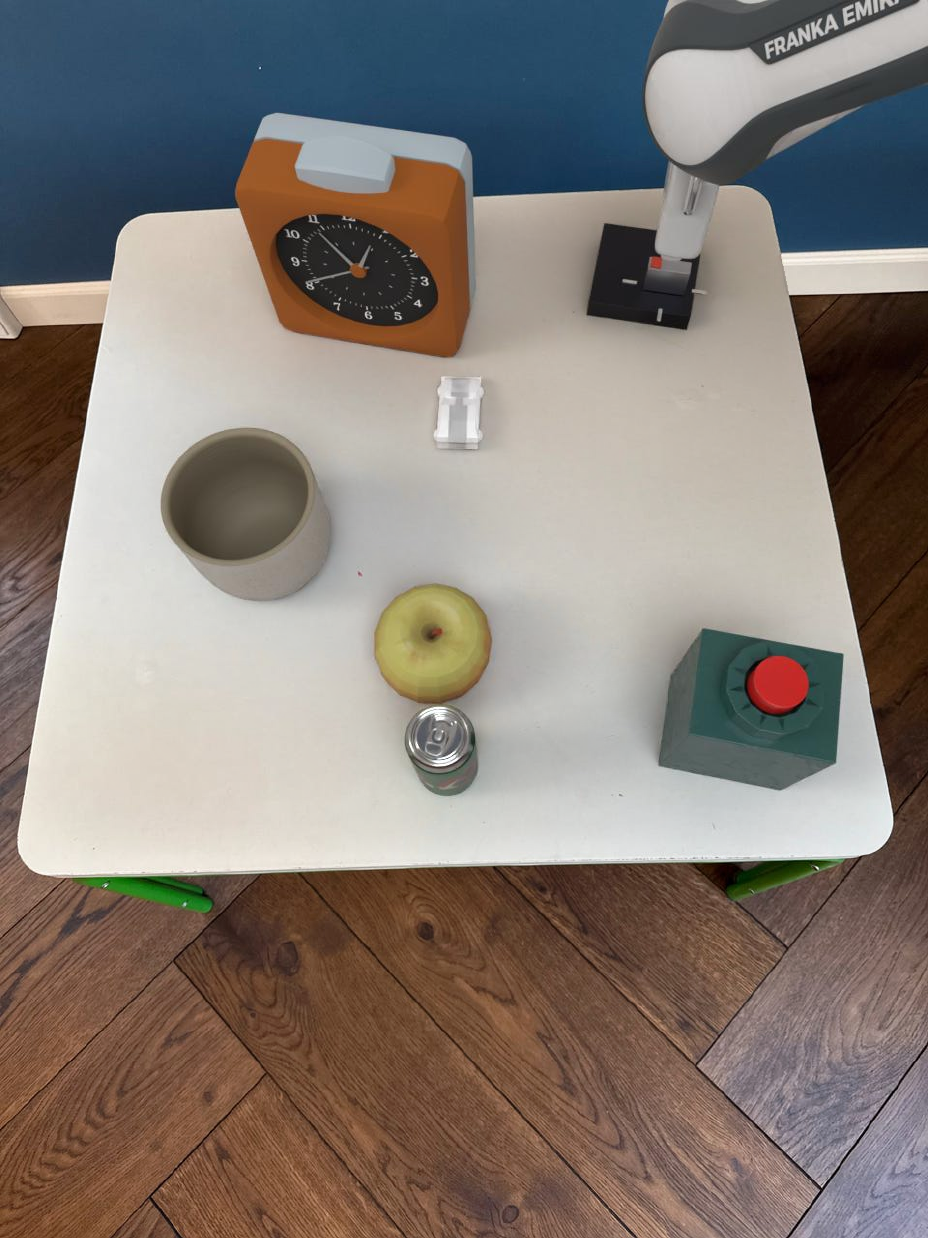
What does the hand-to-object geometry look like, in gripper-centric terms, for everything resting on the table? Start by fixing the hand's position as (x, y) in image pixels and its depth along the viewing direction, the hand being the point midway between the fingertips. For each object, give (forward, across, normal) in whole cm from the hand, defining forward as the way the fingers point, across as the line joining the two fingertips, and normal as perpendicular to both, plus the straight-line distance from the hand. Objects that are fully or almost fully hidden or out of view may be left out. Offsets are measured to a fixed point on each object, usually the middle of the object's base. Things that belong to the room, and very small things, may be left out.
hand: (678, 211), depth 76 cm
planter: (+12, -34, +31) cm, 47 cm away
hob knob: (+10, 0, 0) cm, 10 cm away
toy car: (+12, -17, +16) cm, 26 cm away
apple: (+12, -41, +14) cm, 45 cm away
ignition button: (-2, -42, -11) cm, 44 cm away
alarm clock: (+12, -6, +27) cm, 30 cm away
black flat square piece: (+12, +2, +2) cm, 12 cm away
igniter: (+12, -42, -11) cm, 45 cm away
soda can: (+12, -50, +11) cm, 52 cm away
